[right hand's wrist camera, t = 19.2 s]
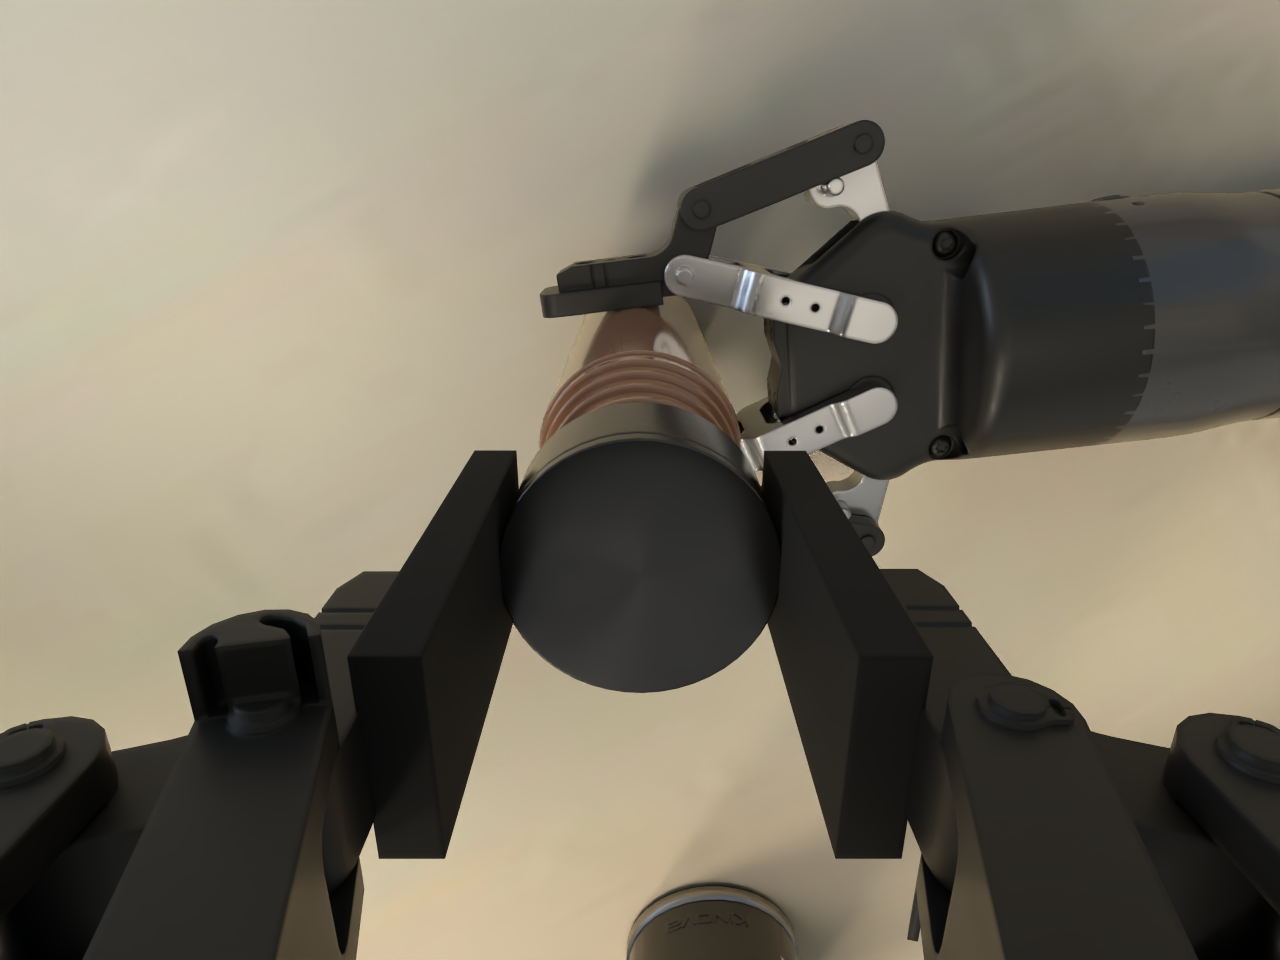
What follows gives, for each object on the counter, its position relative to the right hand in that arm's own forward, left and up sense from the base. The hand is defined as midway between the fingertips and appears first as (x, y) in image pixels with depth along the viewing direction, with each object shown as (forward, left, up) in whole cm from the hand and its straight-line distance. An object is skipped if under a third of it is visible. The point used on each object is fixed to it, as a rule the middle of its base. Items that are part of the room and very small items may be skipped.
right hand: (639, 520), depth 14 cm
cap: (0, 0, +2) cm, 2 cm away
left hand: (-1, +2, -11) cm, 12 cm away
